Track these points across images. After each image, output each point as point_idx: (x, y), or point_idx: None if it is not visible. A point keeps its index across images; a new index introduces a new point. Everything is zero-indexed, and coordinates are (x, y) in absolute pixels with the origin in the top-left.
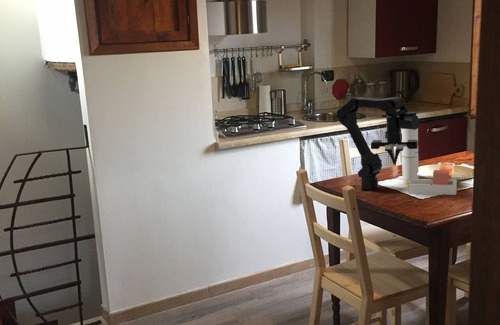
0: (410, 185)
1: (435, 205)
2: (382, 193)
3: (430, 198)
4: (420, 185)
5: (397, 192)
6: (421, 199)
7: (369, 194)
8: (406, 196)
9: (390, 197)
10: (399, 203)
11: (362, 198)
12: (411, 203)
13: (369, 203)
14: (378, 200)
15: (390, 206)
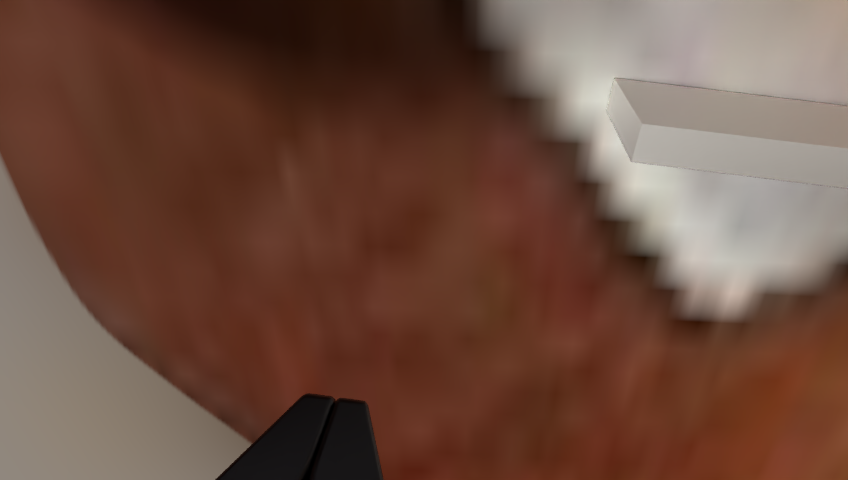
0: (654, 159)
1: (798, 475)
2: (254, 96)
3: (827, 300)
4: (817, 178)
5: (451, 55)
6: (712, 325)
7: (103, 133)
8: (558, 223)
9: (371, 250)
10: (469, 414)
11: (76, 268)
12: (583, 421)
13: (192, 399)
14: (257, 332)
15: (389, 471)
